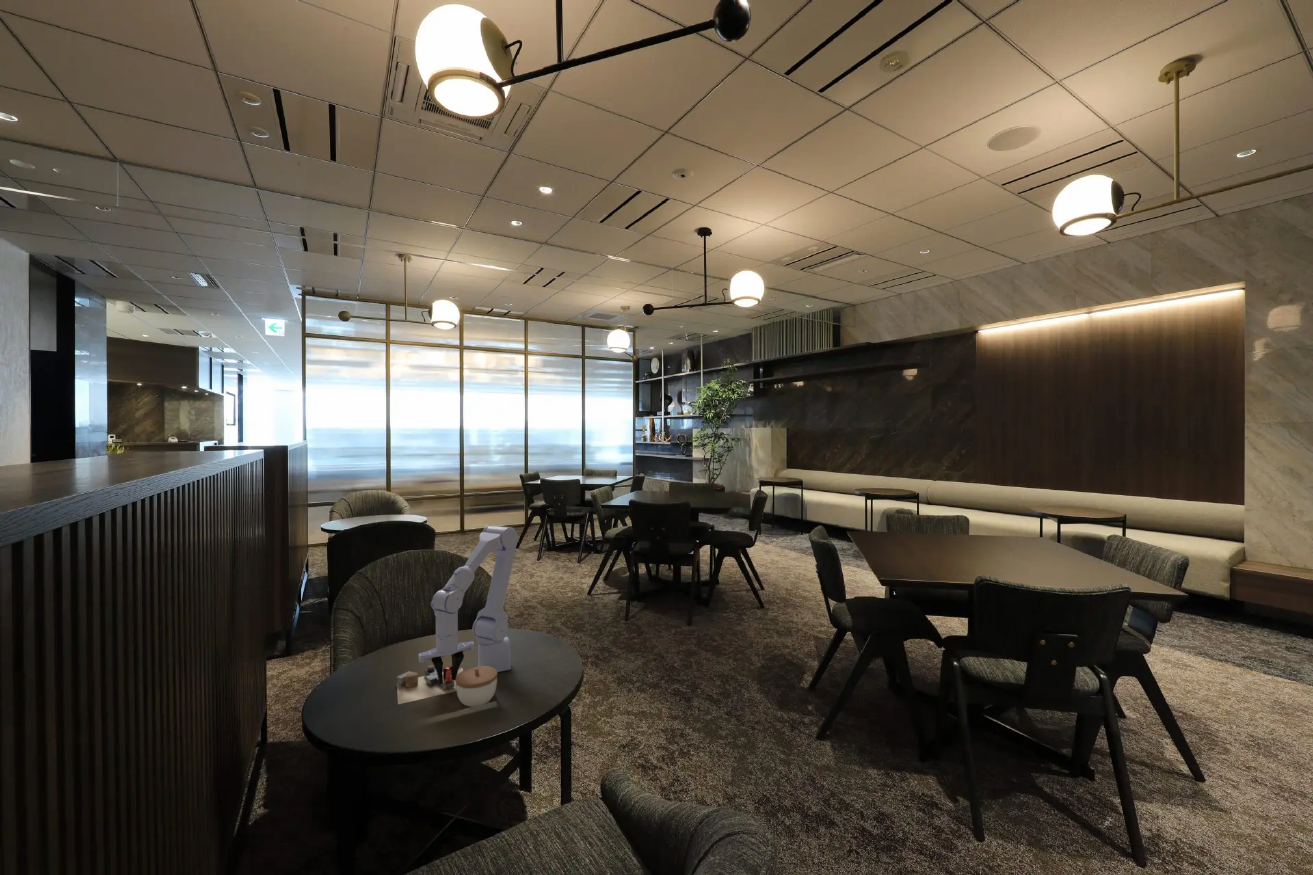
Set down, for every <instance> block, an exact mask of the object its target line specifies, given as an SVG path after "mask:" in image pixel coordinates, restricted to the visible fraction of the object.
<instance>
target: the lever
mask: <svg viewBox="0 0 1313 875" xmlns="http://www.w3.org/2000/svg"><path fill="white" fill-rule="evenodd" d="M442 672H443V684H440V683H439V680H438V675H437V672H436V669H435V667H434V670H431V671H428V670H427V668H426V669H424V670H423V676H424V677H425V678H426V682H427V683H428V684H429V685H432V684H435V683H437V684H438V685H439V686H441V687H442V688H444V689H445V690H447V689H450V688H452V687H454V681H453V666H452V665H446V666H443V671H442Z"/></svg>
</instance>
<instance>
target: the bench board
mask: <svg viewBox="0 0 1313 875" xmlns="http://www.w3.org/2000/svg"><path fill="white" fill-rule="evenodd" d="M426 669H427V670H428V671H431V670H434V664H431V665H428V666H427V667H426ZM462 671H464V669H463V667H459V669H458V673H457V675H458V674H459V673H460V672H462ZM409 673H413V671H406V672H404V673H402V674H400V675H398V676H396V690H397V693H396V694H397V706H398V705H402V704H407V703H412V702H416V701H419V700H423V699H428V698H433V697H437V696H441V695H442V696H443V695H446V694H451V693H454V692H457V690H456V680H455V681H454V687H452V688H450V689H447V690H445V689H444V688H442V687H441V686H439V685H438V684H437V683H435V684H432V685H429V684H428V683H427V682H426V678H425V677H424V675H423V676H418V685H417V686H416V687H414V688H406V675H407V674H409ZM442 674H443V671H442Z"/></svg>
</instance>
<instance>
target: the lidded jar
mask: <svg viewBox="0 0 1313 875" xmlns="http://www.w3.org/2000/svg"><path fill="white" fill-rule="evenodd" d="M497 685H498V672H497V670H496V669H495V668H493V667H490V666H478V665H477V666H473V667H469V668H465V669H463V671H462V672H460V673H459V674H458V675H457V676H456V690H457V691H456V695H457V697H458V700H459V701H460V703H461V704H462V705H464V706H466V707H467V709H470V710H476V709H480V708H481V709H482V708H484V707H485V706H487V705H488V704H489V701H490V700H492V698H493V697H494V695H495V693H496V691H497Z"/></svg>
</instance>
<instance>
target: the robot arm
mask: <svg viewBox="0 0 1313 875" xmlns="http://www.w3.org/2000/svg"><path fill="white" fill-rule="evenodd" d="M478 537H479V542H478V543H477V545H476V546H475V548H474V549H473V551H472V553H471V554H470V556H469V557H468V559H467V561H466V562H465V563H464V566H459V567H458V568H457V569H455V570H454V572H453V574H452V575H451V577H450V578H449V580H448V581H447V583H446V584H445V586H443V588H442V589H440V590H438V591H437V592H436V593H434V595H433V596H432V600H431V601H430V606H431V608H432V610H433V613H434V616H435V648H432V649H429V650H427V651H423V652H419V653H418V663H420V664H423V663H425V662H426V661H431V662H432V665H434V667H435V669H436V672H437V675H438V680H439V683H440V684H443V674H442V672H443V668H444V661H443V658H442V657H446V656H451V666H453V681H455V680H456V676H457V673H458V669H460V668H461V667H460V666H461V665H462V662H463V660H464V657H465V654H464V652H467V651H468V652H469V651H471V652H472V651H475V642H474V641H473V640H472V641H466V642H459V633H458V632H459V626H458V624H459V623H458V620H459V619H458V618H459V616H458V614H459V613H458V612H459V609H460V608H461V607H462V605H463V600H464V597H465V592H467V590H468V588H470V586H471V585H472V583H473V582H474V580H475V578H476V577H475V572H476V570H478V568H479V567H480V565H481V564H482V563H483V562H484V560H485V559H486V558H487V557H488V555H490V553H491V552H492V553H494V554H495V556H496V559H495V563H494V567H493V571H492V575H491V579H490V580H491V581H490V584H489V589H488V594H487V598H486V603H485V607H484V608H482V609H480V610H479V611H478V612H477V615H476V619H475V620H474V622H473V624H472V627H471V628H472V629H471V631H472V634H473V636H474V637H475V638H476V640H475V641H477V659H478V660H477V663H478V665H477V666H490V667H493V668H495V669H496V670H497V673H499V672H500V673H501V672H504V671H509V670H511V669H512V667H511V642H510V638H509V637H508V636H507V634H508V631H509V624H508V621H509V616H508V614H507V613H506V612H505V610H504V605H505V603H506V602H505V601H506V596H507V592H508V588H509V583H510V578H511V575H512V569H513V566H514V561H515V560H514V559H515V556H516V548H517V543H518V539H519V535H518V533H517V530H516V529H515V528H514V527H513V526H497V525H492V524H487V525H486V526H485V527H484V528H483V530H482V532H481V533H480V534H479V535H478Z"/></svg>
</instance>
